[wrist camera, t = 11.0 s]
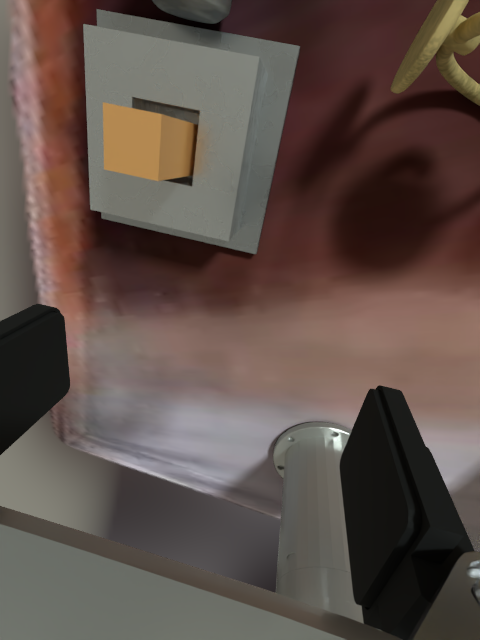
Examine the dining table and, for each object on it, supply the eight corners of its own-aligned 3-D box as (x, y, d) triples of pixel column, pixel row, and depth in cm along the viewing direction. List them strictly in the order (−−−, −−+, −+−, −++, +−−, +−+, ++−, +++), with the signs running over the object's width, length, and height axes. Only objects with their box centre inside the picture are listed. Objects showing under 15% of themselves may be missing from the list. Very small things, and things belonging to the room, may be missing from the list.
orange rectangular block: (207, 127, 27) (161, 114, 19) (202, 173, 29) (158, 181, 20) (167, 119, 28) (102, 102, 19) (164, 165, 29) (104, 169, 21)
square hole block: (257, 251, 32) (248, 270, 27) (106, 216, 34) (69, 228, 28) (300, 50, 25) (298, 21, 20) (103, 14, 26) (52, -22, 21)
